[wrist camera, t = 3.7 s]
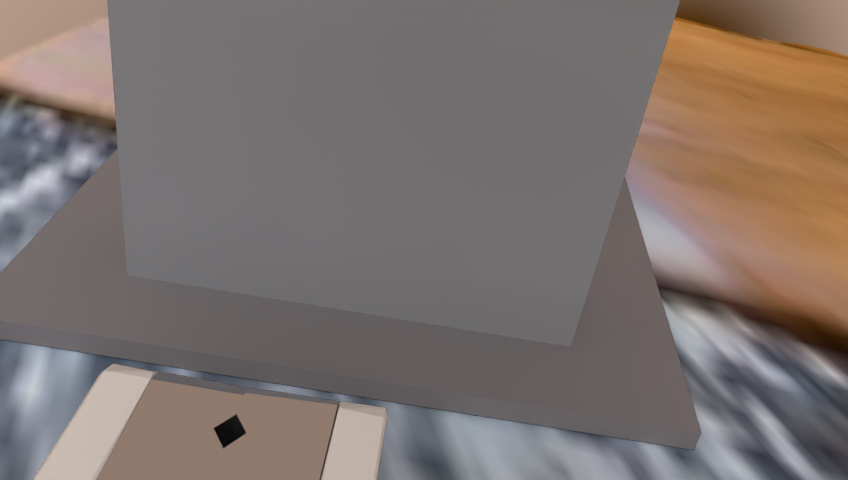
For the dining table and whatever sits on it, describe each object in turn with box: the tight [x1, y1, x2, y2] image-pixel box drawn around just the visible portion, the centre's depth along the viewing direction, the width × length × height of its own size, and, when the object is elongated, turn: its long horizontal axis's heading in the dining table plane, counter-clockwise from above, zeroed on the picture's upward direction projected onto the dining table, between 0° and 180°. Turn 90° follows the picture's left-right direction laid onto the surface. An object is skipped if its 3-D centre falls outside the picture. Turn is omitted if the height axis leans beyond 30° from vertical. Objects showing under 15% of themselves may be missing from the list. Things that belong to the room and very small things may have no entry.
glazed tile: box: [107, 0, 680, 347], centre depth 19 cm, size 12×3×12 cm, turn 86°
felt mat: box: [0, 148, 701, 450], centre depth 27 cm, size 18×18×1 cm
